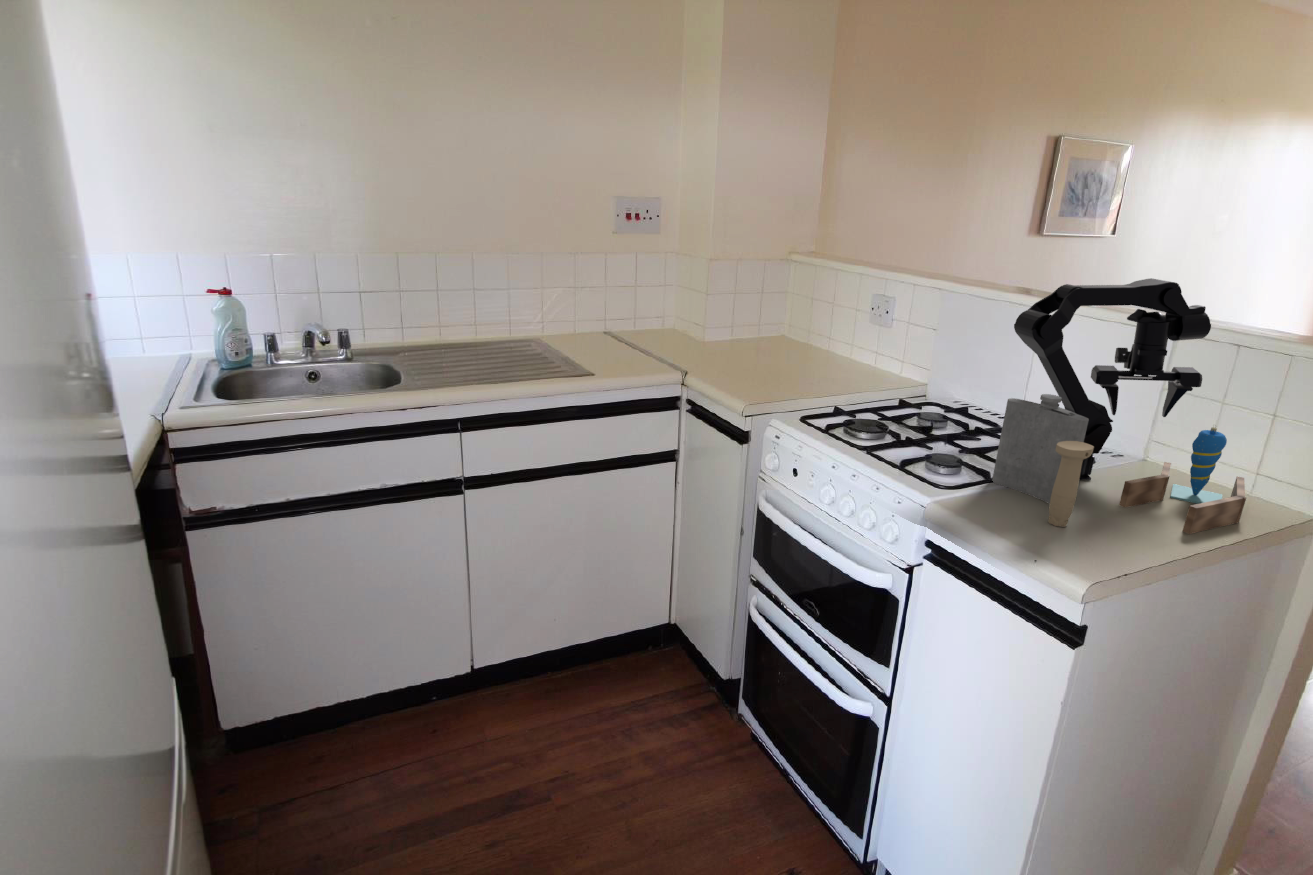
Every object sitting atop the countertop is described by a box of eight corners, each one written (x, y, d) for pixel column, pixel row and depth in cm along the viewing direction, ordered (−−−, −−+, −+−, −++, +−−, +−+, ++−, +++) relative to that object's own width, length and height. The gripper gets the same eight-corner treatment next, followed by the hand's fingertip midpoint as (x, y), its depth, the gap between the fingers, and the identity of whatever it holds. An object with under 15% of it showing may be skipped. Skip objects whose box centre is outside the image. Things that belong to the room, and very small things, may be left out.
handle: (1081, 526, 136) (1100, 447, 131) (1057, 532, 133) (1075, 452, 129) (1057, 516, 140) (1075, 439, 135) (1033, 521, 138) (1050, 443, 133)
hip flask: (988, 481, 156) (1006, 387, 150) (1000, 477, 158) (1019, 385, 152) (1062, 509, 144) (1085, 407, 137) (1074, 505, 146) (1098, 405, 139)
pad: (1221, 508, 147) (1222, 507, 146) (1170, 497, 151) (1170, 495, 151) (1221, 496, 153) (1222, 494, 153) (1172, 485, 158) (1173, 483, 158)
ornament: (1199, 489, 154) (1217, 420, 149) (1217, 500, 150) (1237, 428, 144) (1174, 490, 154) (1192, 420, 149) (1192, 500, 149) (1211, 428, 144)
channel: (1146, 530, 136) (1153, 504, 134) (1089, 478, 160) (1094, 456, 158) (1301, 543, 133) (1310, 517, 131) (1219, 489, 157) (1226, 466, 155)
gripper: (1191, 334, 158) (1178, 406, 163) (1090, 333, 164) (1081, 402, 169) (1209, 346, 148) (1195, 422, 153) (1101, 345, 154) (1091, 418, 159)
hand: (1138, 415), depth 159 cm, fingers open, 9 cm apart
